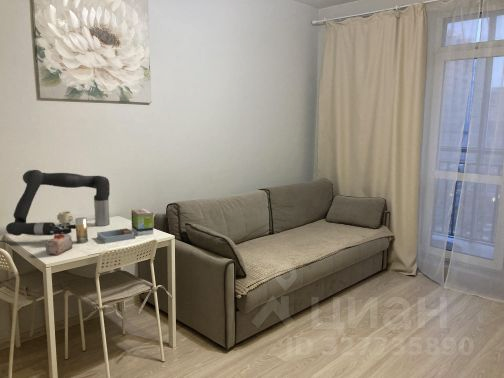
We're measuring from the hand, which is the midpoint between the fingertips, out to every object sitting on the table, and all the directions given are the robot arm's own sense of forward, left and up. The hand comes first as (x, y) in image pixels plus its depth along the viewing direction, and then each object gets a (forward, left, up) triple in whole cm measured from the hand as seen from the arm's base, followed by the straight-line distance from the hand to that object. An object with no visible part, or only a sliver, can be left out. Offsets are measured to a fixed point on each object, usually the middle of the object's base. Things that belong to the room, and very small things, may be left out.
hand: (73, 228), depth 239 cm
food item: (+15, -11, -8) cm, 20 cm away
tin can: (+3, +4, -8) cm, 9 cm away
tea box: (+5, +40, -8) cm, 41 cm away
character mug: (-23, +1, -8) cm, 25 cm away
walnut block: (+9, +28, -7) cm, 30 cm away
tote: (+9, +22, -8) cm, 25 cm away
